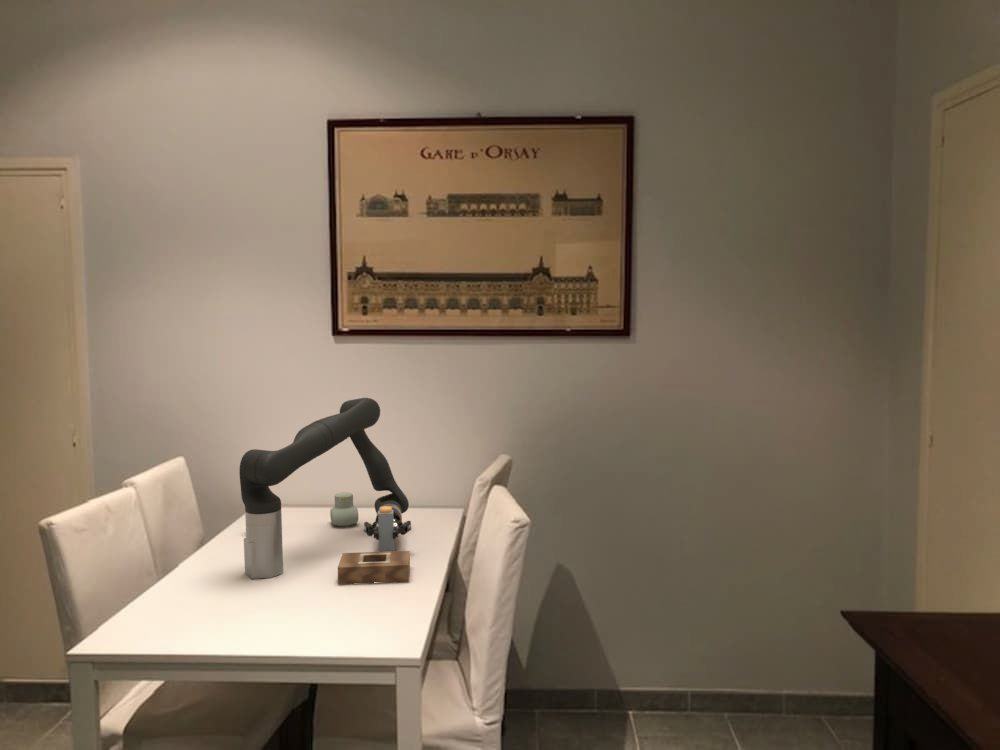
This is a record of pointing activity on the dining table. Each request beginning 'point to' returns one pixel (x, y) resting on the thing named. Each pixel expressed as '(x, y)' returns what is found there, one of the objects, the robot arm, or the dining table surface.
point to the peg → (386, 529)
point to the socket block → (374, 567)
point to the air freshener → (344, 510)
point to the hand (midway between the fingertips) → (385, 535)
